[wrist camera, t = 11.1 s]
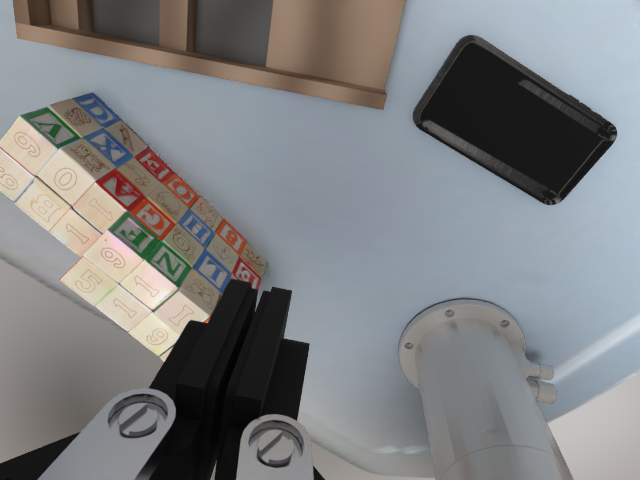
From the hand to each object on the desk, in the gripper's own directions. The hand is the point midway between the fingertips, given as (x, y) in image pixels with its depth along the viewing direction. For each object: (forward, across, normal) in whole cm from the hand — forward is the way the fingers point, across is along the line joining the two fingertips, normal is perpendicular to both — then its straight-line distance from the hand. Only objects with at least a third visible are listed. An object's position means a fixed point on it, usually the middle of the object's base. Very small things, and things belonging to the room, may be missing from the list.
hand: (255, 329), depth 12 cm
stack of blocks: (+28, +13, +10) cm, 33 cm away
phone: (+29, -15, -3) cm, 33 cm away
